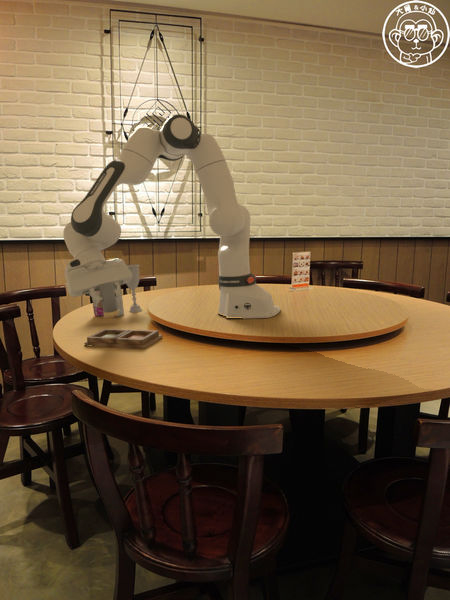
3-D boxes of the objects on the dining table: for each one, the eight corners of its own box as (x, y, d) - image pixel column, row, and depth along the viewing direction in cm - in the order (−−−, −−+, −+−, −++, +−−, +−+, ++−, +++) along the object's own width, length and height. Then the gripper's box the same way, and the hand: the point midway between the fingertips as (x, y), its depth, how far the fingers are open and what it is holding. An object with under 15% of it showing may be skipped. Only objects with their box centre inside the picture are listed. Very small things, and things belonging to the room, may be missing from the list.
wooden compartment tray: (162, 337, 144) (161, 330, 143) (144, 349, 134) (143, 340, 133) (105, 335, 151) (104, 328, 151) (84, 345, 141) (83, 338, 141)
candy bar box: (93, 316, 179) (87, 275, 176) (102, 313, 184) (96, 272, 180) (116, 317, 174) (111, 275, 171) (124, 314, 179) (119, 272, 175)
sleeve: (122, 312, 146) (116, 282, 143) (114, 317, 141) (108, 286, 138) (109, 312, 147) (103, 282, 144) (101, 317, 143) (94, 286, 140)
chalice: (134, 313, 179) (129, 267, 175) (123, 312, 183) (117, 267, 179) (148, 309, 184) (143, 264, 181) (136, 308, 189) (131, 264, 185)
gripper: (120, 263, 155) (138, 295, 150) (59, 277, 144) (76, 313, 139) (123, 251, 150) (141, 284, 145) (61, 265, 139) (78, 301, 134)
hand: (109, 298), depth 142 cm, fingers closed on sleeve, 4 cm apart
